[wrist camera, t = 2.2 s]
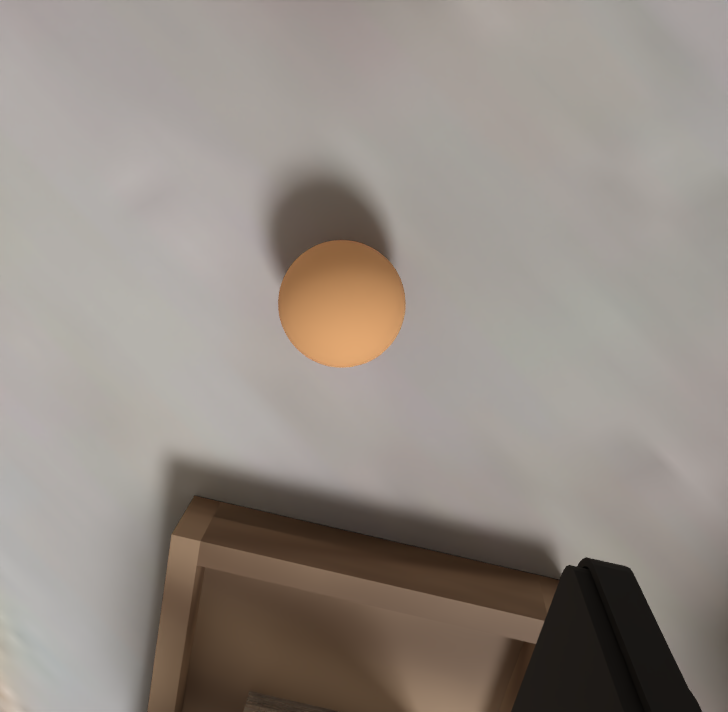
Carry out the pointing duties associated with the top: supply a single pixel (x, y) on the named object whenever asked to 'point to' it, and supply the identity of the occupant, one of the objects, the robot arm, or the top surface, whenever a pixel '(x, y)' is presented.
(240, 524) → the walnut tray
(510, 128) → the top surface
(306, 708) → the square metal container
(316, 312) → the mixing ball
